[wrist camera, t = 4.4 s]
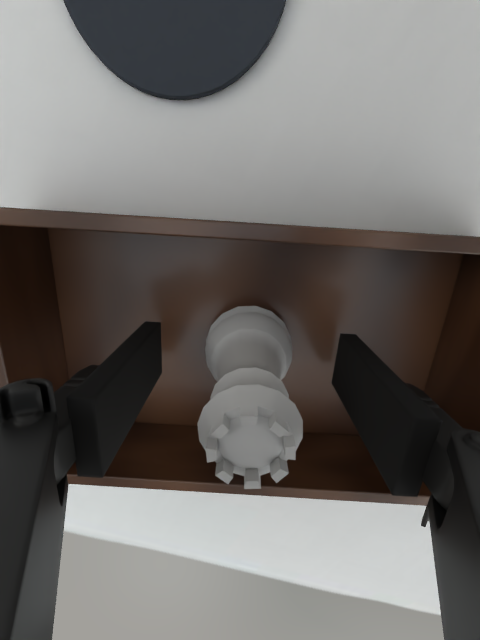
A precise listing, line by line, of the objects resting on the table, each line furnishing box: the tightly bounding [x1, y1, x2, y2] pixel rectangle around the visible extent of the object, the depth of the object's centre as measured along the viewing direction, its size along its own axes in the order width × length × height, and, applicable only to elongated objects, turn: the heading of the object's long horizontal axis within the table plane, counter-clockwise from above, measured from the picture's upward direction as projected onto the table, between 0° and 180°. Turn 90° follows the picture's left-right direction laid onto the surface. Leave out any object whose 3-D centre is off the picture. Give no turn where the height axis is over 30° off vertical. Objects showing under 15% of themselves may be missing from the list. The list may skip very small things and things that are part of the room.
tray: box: [0, 207, 480, 506], centre depth 14 cm, size 21×12×4 cm, turn 87°
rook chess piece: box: [197, 306, 303, 489], centre depth 12 cm, size 4×4×8 cm
